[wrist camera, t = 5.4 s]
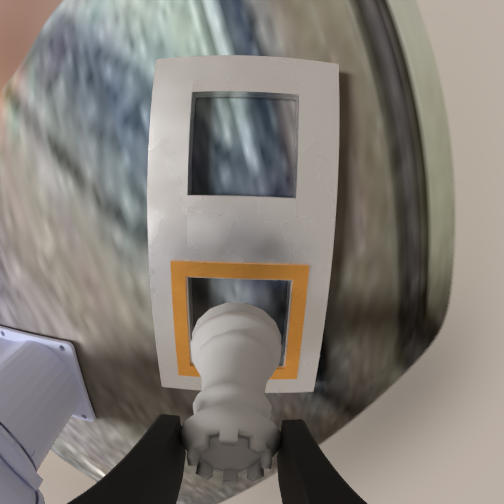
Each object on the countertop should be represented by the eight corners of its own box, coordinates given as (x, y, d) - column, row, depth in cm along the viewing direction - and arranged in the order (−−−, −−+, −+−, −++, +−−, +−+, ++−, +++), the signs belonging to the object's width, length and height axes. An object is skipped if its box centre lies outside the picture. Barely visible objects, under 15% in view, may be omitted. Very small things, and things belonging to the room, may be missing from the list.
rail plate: (165, 376, 19) (161, 388, 18) (161, 66, 15) (155, 58, 13) (310, 381, 19) (313, 393, 18) (332, 71, 15) (339, 63, 13)
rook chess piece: (296, 348, 15) (328, 470, 7) (225, 384, 16) (214, 505, 8) (250, 281, 14) (253, 390, 6) (175, 325, 15) (124, 440, 7)
